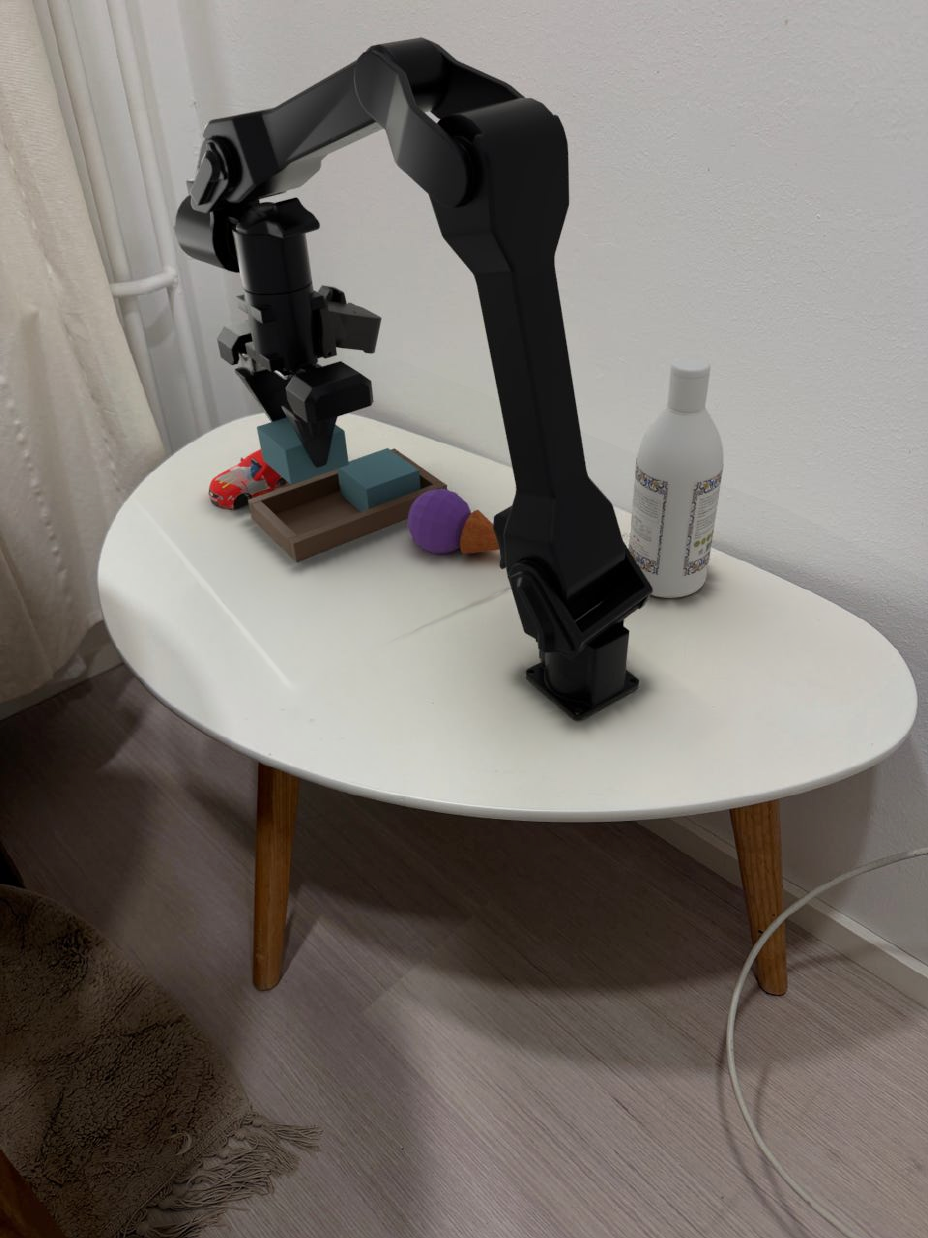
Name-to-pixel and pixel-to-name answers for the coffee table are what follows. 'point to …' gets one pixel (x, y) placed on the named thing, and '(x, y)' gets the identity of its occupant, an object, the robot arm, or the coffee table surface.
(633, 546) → the bath foam
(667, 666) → the coffee table surface
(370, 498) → the teal square block
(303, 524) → the frame
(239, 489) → the race car
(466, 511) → the purple ice cream cone
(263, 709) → the coffee table surface
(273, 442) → the loose pad
